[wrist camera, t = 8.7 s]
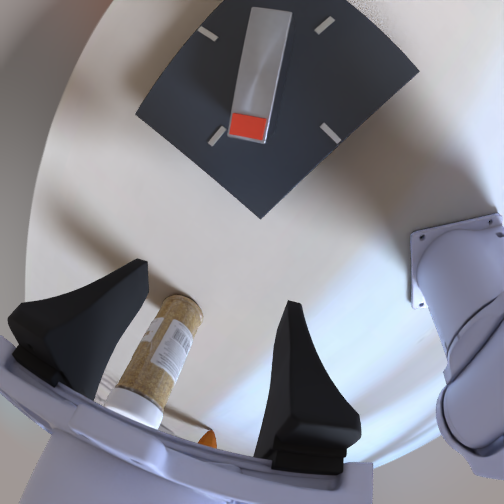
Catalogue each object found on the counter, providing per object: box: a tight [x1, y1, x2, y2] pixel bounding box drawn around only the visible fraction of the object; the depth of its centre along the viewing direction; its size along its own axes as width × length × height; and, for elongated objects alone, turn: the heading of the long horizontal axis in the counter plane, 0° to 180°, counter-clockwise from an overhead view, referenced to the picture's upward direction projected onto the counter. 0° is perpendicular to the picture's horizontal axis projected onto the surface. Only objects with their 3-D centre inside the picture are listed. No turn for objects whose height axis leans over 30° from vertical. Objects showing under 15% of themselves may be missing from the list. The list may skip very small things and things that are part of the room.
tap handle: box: [227, 7, 295, 144], centre depth 12 cm, size 6×2×4 cm, turn 170°
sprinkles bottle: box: [104, 295, 203, 430], centre depth 23 cm, size 5×5×14 cm
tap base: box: [135, 0, 419, 219], centre depth 15 cm, size 14×11×3 cm
